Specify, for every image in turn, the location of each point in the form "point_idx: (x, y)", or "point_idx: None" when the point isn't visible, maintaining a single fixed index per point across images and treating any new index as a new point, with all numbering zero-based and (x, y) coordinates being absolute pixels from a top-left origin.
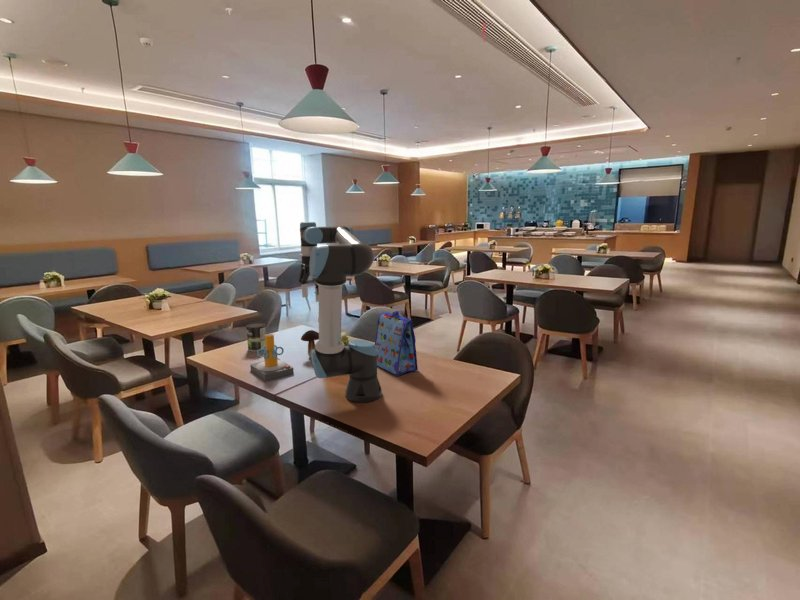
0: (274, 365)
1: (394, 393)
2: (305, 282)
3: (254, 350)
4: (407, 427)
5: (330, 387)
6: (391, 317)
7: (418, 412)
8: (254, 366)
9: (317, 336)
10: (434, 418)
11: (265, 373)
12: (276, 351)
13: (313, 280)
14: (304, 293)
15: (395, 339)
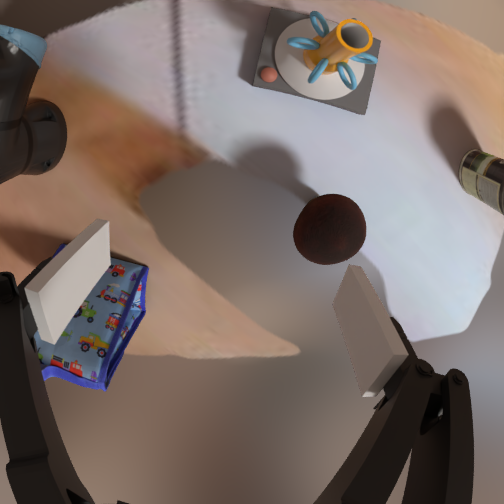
0: (303, 53)
1: (19, 184)
2: (385, 401)
3: (469, 153)
4: None
5: (105, 102)
6: (53, 362)
7: None
8: None
9: (300, 237)
10: None
11: (281, 14)
12: (292, 40)
13: (25, 381)
14: (352, 299)
15: None
